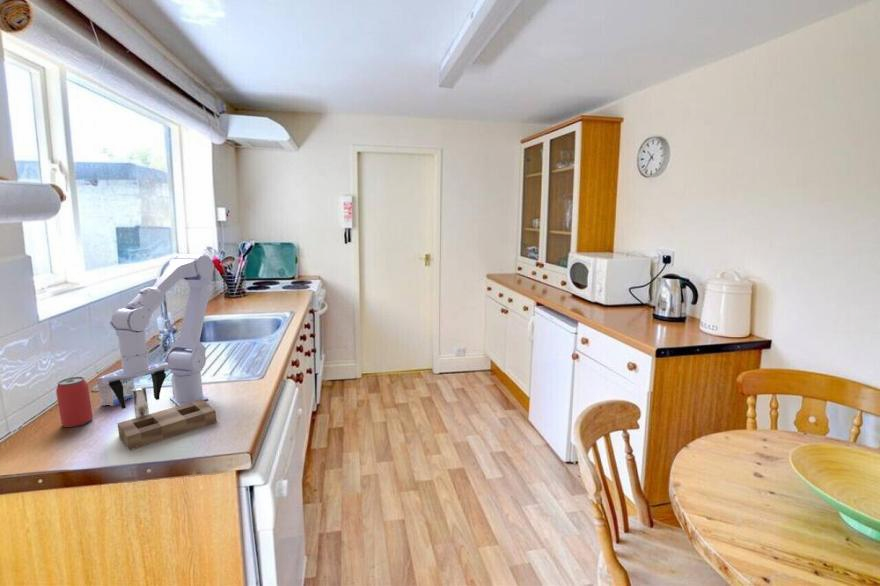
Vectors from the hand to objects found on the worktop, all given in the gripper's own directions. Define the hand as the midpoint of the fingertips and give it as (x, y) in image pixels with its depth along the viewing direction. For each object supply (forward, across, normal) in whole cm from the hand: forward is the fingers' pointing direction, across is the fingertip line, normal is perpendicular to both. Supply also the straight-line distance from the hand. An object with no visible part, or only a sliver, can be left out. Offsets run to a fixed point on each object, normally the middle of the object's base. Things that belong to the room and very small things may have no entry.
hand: (140, 403), depth 119 cm
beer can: (+6, -12, +14) cm, 19 cm away
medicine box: (+6, -1, +23) cm, 24 cm away
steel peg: (+6, 0, 0) cm, 6 cm away
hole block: (+6, +4, -8) cm, 11 cm away
